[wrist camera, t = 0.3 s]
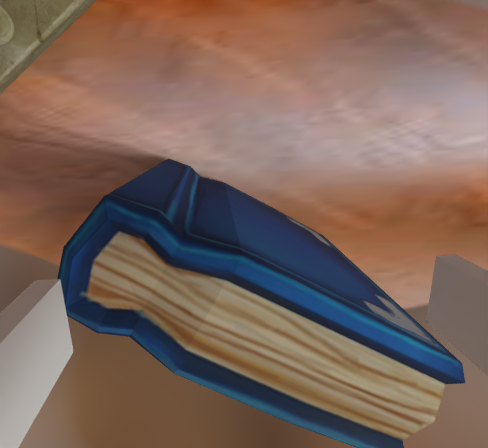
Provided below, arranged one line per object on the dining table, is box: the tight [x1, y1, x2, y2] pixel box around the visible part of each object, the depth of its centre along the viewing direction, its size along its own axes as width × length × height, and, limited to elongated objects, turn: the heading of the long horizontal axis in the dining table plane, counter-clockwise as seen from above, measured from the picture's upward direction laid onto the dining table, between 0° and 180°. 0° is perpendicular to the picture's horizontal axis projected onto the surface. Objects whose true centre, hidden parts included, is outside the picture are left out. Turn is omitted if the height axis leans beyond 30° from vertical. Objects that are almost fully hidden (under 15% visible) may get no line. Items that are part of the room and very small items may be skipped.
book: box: [58, 159, 465, 448], centre depth 28 cm, size 22×7×25 cm, turn 60°
